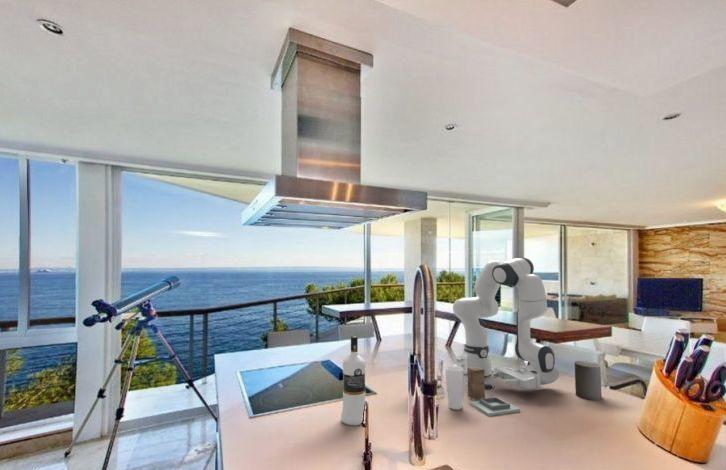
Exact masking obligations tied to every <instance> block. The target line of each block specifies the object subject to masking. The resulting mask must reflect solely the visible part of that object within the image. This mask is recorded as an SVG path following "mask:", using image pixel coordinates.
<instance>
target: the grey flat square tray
mask: <svg viewBox="0 0 726 470" xmlns="http://www.w3.org/2000/svg"><path fill="white" fill-rule="evenodd" d="M469 404H470V406H472V407H474V408H475V409H477V410H479V411H480V412H481V413H483V414H484V415H486V416H488V417H492V416H499V415H506V414H514V413H520V412H521V409H520V408H519V407H517V406H515V405H513V404H511V403H510V402H508V401H506V400H504V399H501V398H499V397H498V396H492V397H485V398H482V399H479V400H472V401H470V402H469Z"/></svg>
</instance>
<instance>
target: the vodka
mask: <svg viewBox="0 0 726 470" xmlns="http://www.w3.org/2000/svg"><path fill="white" fill-rule="evenodd" d="M358 338H359V336H357V335H352V336H351V337H350V354H349V355H348V356H347V357H346V358H344V360H343V362H342V376H343V377H342V379H343V381H342V383H343V384H342V385H343V386H342V387H343V389H342V390H343V391H342V412H341V414H340V415H341V417H340V419H341V422H342V423H344V424H345V425H347V426H352V427H355V426H360V425H361V426H362V424H361V423H362V415H363V408H364V403H365V404H366V360H365V358H363V357H362V356H361V355H359V352H358V351H359V350H358V346H359V345H358V340H359V339H358Z"/></svg>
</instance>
